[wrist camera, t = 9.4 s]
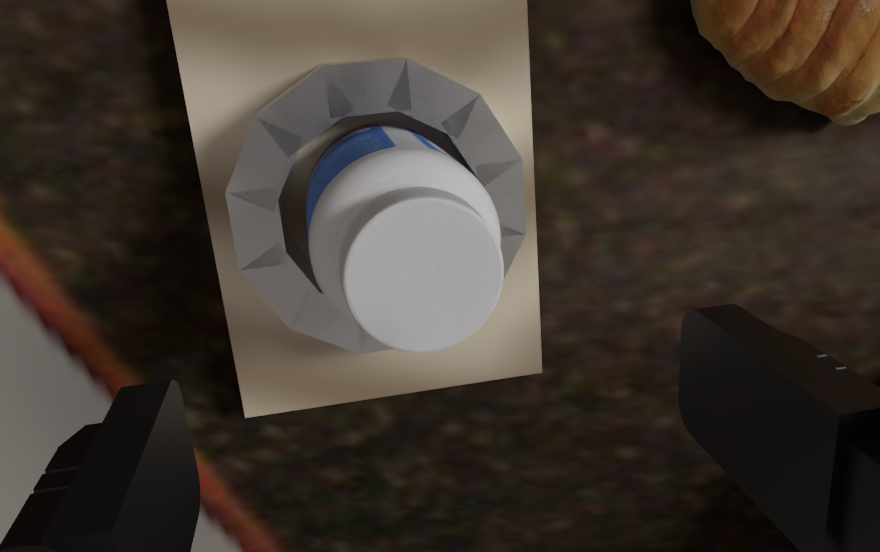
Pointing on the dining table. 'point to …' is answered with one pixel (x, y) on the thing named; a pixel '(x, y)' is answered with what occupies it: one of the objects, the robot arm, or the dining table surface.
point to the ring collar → (305, 117)
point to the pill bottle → (403, 238)
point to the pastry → (802, 50)
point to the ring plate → (263, 79)
